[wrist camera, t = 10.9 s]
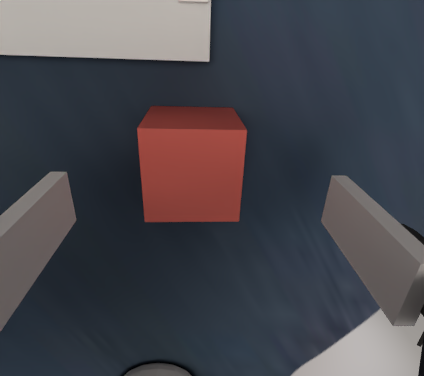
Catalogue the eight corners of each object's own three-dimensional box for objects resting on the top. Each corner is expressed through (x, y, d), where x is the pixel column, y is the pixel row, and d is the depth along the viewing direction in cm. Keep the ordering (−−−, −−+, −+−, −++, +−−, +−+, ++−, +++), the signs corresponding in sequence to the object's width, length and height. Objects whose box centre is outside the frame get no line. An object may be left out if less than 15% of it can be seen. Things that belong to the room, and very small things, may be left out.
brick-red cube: (155, 180, 23) (144, 222, 18) (151, 105, 21) (137, 128, 15) (228, 180, 24) (238, 221, 18) (232, 107, 21) (247, 130, 16)
